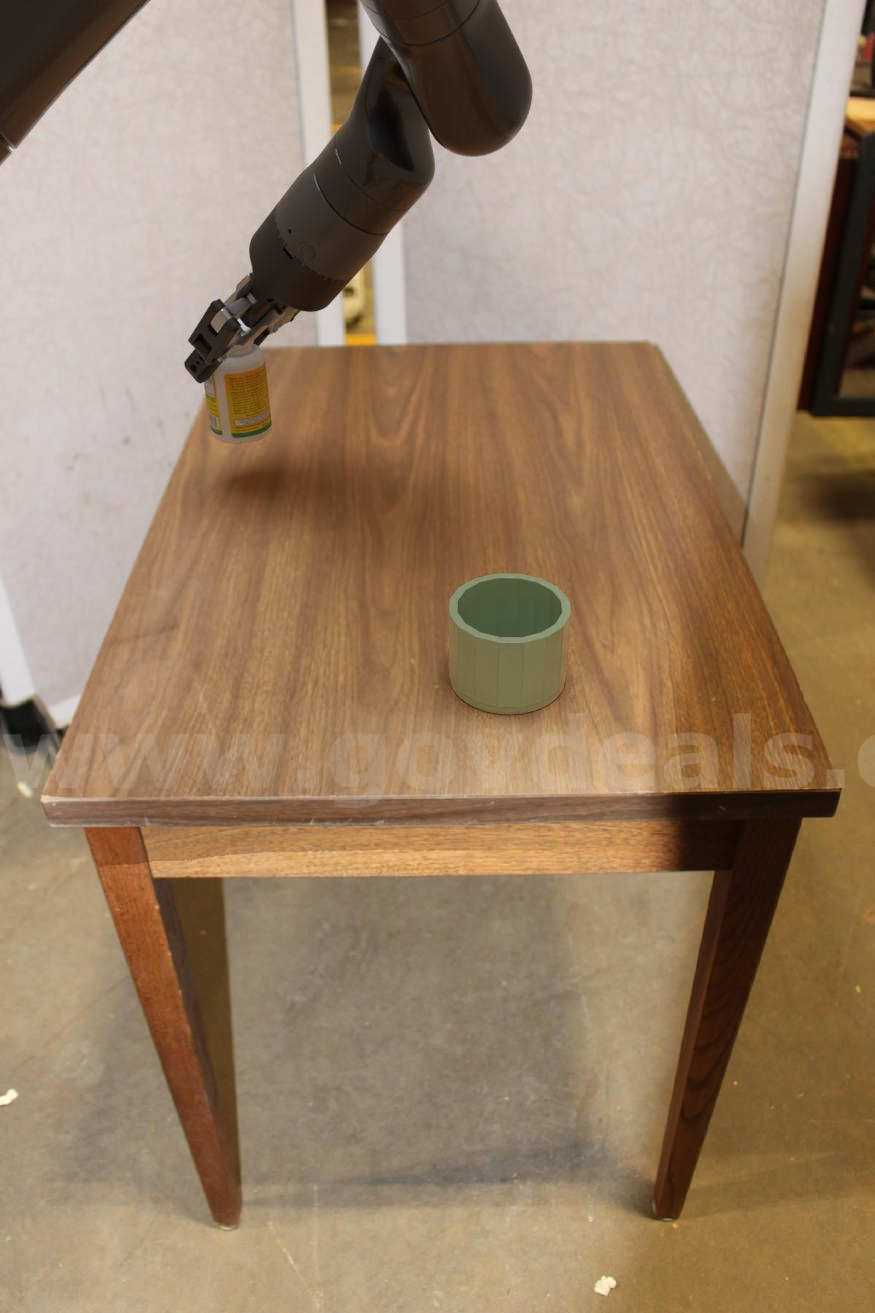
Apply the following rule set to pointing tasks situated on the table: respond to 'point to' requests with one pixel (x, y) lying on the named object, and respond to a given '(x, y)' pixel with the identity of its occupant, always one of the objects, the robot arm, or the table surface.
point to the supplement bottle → (239, 396)
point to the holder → (508, 642)
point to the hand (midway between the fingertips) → (216, 360)
